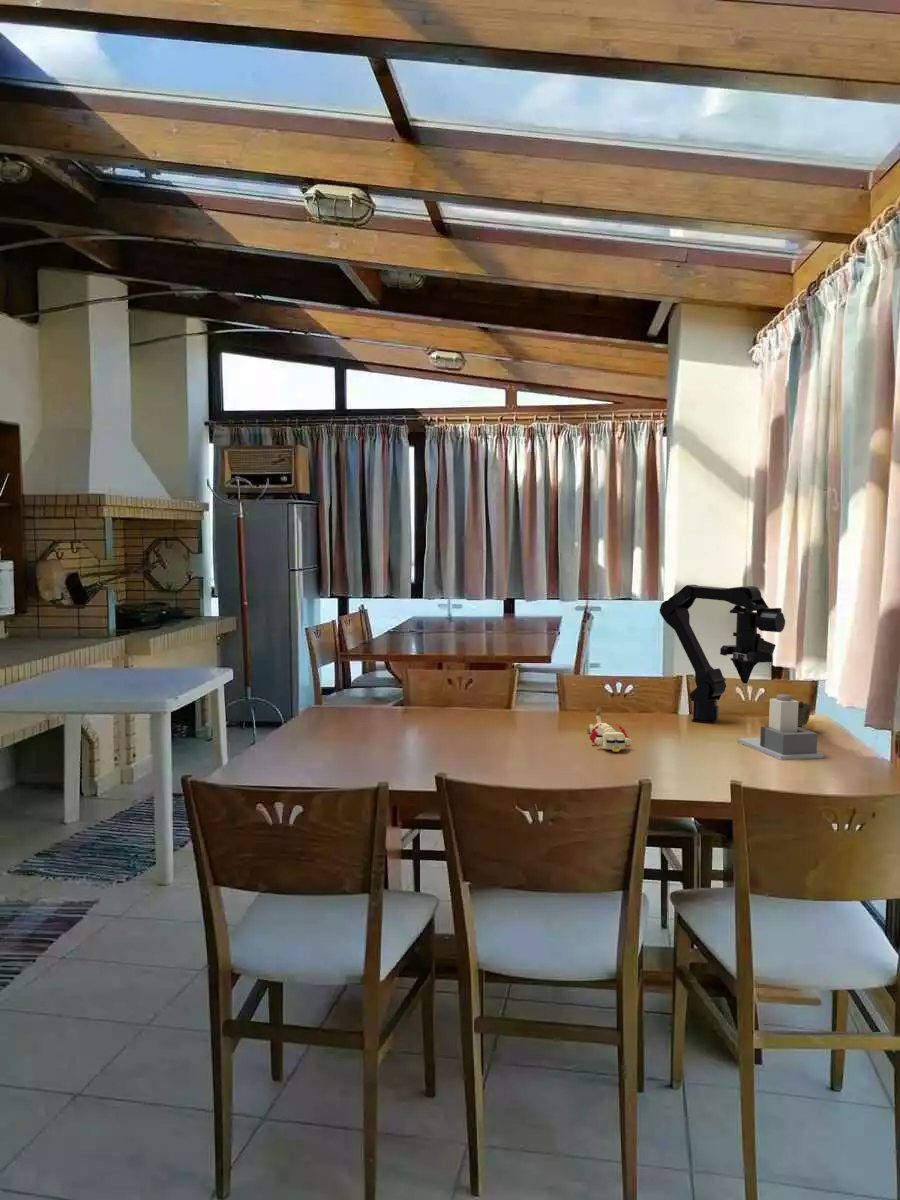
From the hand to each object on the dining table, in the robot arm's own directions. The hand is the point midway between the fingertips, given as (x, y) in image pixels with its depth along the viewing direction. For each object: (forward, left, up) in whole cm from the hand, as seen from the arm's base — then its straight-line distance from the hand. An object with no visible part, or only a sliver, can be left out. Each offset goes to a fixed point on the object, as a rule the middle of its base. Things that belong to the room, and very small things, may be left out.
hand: (744, 683), depth 261 cm
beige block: (+14, -25, -12) cm, 31 cm away
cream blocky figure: (-28, -40, -14) cm, 51 cm away
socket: (+13, -24, -13) cm, 31 cm away
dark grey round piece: (+14, +4, -13) cm, 20 cm away
